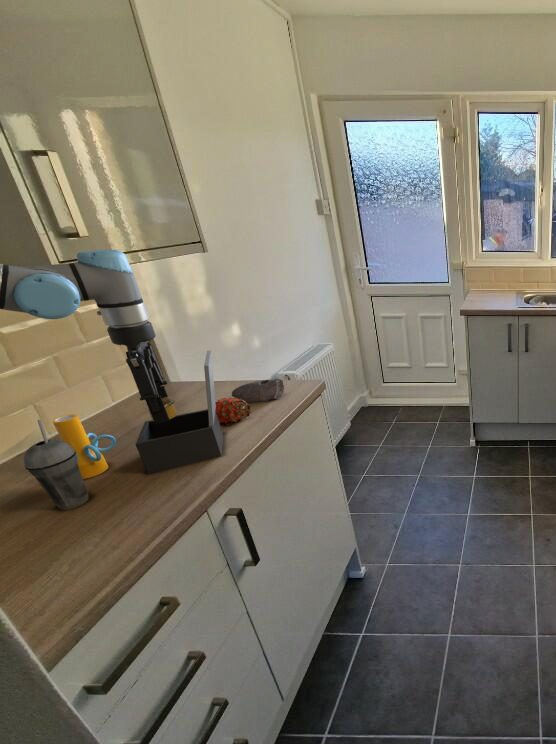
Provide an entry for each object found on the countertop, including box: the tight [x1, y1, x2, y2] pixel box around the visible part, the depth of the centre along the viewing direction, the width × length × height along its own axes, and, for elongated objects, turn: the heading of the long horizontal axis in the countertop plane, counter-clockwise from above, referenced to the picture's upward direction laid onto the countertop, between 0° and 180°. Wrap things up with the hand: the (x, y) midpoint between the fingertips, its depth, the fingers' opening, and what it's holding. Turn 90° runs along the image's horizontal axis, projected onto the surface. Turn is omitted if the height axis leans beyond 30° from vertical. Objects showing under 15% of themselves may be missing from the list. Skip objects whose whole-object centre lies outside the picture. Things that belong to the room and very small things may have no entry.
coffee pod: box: [143, 396, 178, 421], centre depth 100 cm, size 6×6×4 cm
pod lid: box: [203, 350, 216, 426], centre depth 103 cm, size 16×13×1 cm
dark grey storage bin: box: [135, 408, 224, 475], centre depth 104 cm, size 15×13×9 cm
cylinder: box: [51, 413, 117, 480], centre depth 95 cm, size 12×10×15 cm
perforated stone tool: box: [231, 378, 285, 404], centre depth 133 cm, size 15×5×7 cm, turn 107°
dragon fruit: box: [215, 396, 252, 426], centre depth 120 cm, size 8×8×12 cm
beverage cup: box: [23, 419, 90, 511], centre depth 84 cm, size 7×7×20 cm
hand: (164, 416), depth 100 cm, fingers closed on coffee pod, 6 cm apart
